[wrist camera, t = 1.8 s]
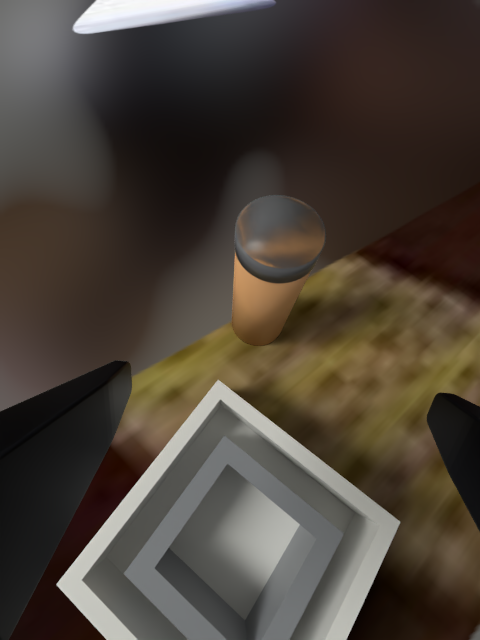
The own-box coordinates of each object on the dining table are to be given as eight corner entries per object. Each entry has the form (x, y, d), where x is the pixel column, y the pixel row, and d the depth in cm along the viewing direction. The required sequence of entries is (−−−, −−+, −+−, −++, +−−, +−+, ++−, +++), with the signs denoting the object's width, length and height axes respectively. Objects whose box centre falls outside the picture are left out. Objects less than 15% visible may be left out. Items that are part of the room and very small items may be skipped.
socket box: (367, 507, 19) (402, 523, 16) (256, 725, 16) (267, 819, 12) (219, 390, 22) (218, 379, 18) (91, 555, 18) (54, 586, 14)
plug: (293, 317, 24) (342, 224, 14) (263, 356, 23) (293, 287, 13) (251, 288, 25) (269, 181, 15) (220, 325, 24) (216, 235, 14)
